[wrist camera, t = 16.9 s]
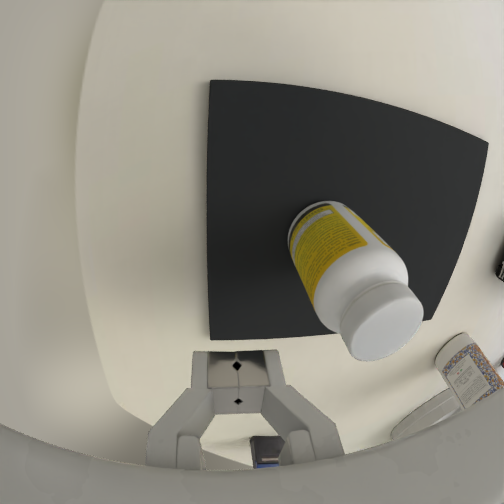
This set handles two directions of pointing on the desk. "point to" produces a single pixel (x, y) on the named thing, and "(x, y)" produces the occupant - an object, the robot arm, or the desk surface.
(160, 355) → the desk surface
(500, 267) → the miniature car
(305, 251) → the supplement bottle
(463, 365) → the bath foam
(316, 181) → the mat
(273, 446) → the mini dv tape
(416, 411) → the dish
